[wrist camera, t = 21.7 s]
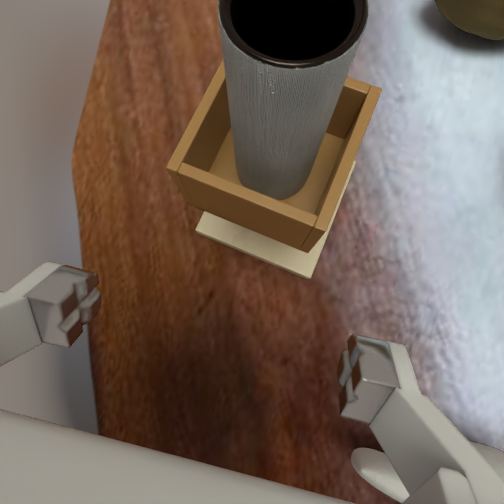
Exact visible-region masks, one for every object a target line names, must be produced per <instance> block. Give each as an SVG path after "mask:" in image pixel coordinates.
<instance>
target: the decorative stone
mask: <svg viewBox="0 0 504 504" xmlns="http://www.w3.org/2000/svg"><path fill="white" fill-rule="evenodd" d="M435 2H436V5H437V7H438V9H439V11H440V13H441V14H442V15H443V16H444V17H445V18H446V19H447V20H449V21H450V22H451V23H452V24H454V25H455V26H456V27H458V28H459V29H461V30H463V31H465V32H468V33H471V34H475V35H478V36H480V37H483V38H486V39H490V40H502V39H504V0H435Z"/></svg>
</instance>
